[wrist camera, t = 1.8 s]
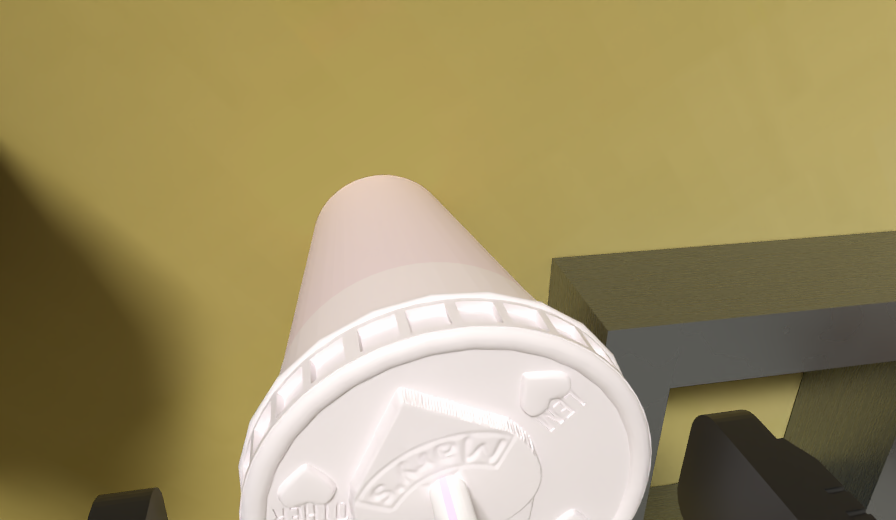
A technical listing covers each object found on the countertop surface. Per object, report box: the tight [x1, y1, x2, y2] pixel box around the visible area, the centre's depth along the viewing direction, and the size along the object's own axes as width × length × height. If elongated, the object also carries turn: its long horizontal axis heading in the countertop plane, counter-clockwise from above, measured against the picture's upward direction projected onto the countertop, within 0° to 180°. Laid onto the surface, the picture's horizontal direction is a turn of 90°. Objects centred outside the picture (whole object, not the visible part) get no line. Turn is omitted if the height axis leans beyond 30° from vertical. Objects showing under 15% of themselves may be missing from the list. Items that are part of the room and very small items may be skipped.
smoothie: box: [239, 175, 652, 520], centre depth 12 cm, size 6×6×14 cm
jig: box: [548, 231, 896, 520], centre depth 22 cm, size 12×12×4 cm
